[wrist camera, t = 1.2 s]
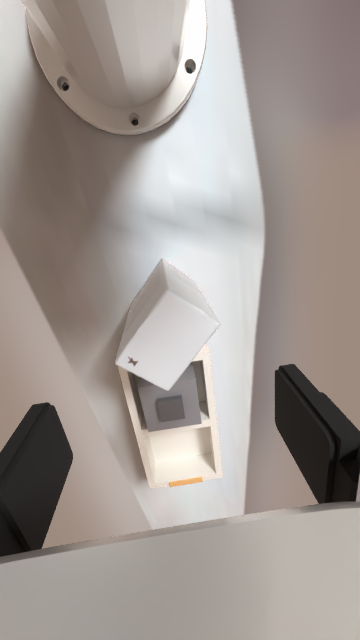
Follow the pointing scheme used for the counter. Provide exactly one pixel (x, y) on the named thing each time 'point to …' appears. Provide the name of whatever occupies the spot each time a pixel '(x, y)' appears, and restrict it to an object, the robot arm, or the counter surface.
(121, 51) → the robot arm
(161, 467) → the cream rectangular tray
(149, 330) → the skincare box
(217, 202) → the counter surface
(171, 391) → the grey square block
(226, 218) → the counter surface
